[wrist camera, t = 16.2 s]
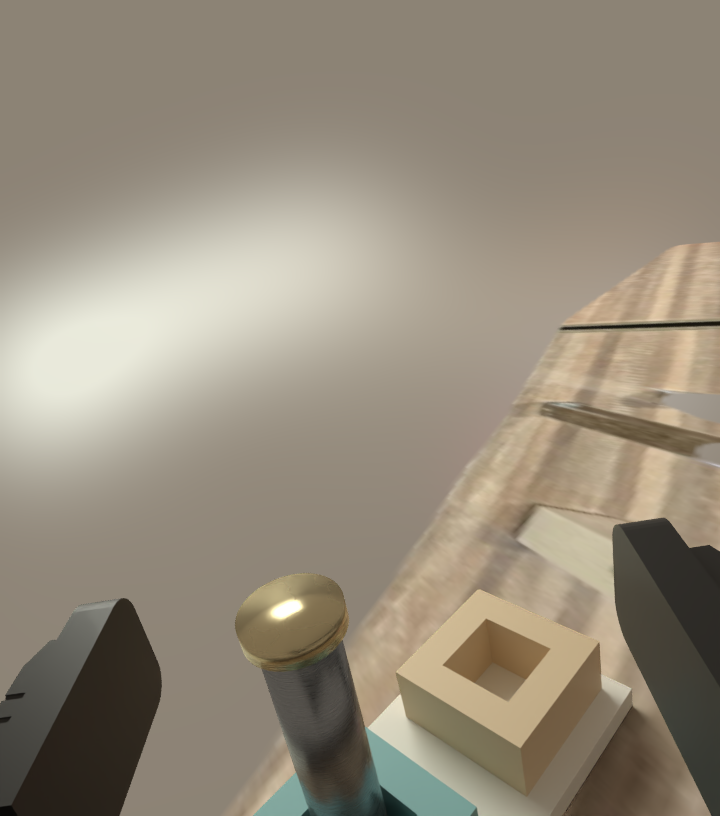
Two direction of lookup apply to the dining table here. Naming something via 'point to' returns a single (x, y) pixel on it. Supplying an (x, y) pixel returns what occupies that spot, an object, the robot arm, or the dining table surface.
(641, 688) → the dining table surface
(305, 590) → the pin
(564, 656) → the dock
